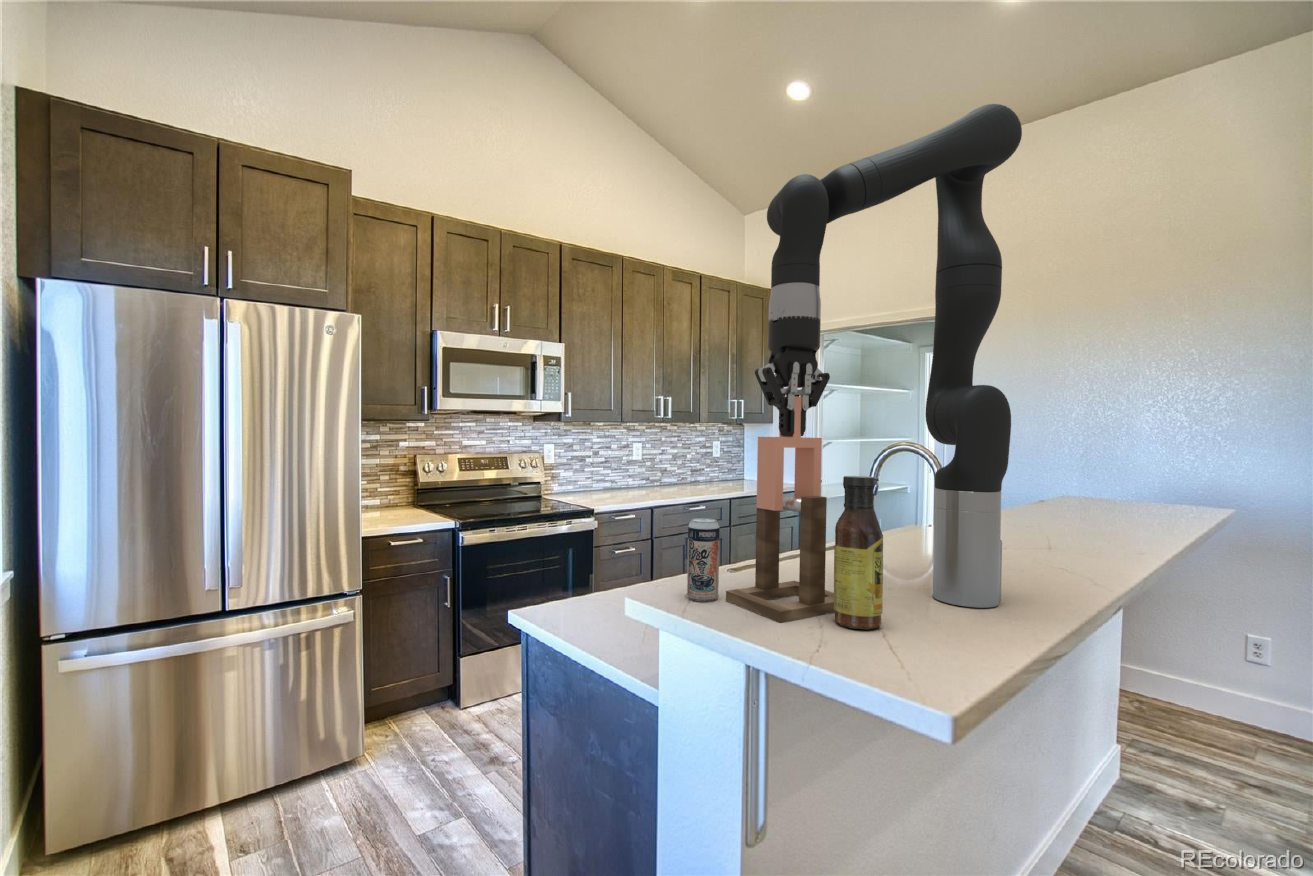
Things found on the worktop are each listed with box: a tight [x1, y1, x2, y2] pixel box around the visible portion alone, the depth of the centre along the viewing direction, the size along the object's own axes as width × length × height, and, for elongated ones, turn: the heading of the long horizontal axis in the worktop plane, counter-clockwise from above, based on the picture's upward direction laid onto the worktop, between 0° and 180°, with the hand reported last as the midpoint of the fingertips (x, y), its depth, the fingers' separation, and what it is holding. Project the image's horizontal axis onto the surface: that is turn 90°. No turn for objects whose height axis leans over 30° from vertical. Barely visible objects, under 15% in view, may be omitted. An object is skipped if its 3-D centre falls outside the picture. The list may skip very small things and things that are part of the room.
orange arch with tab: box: [756, 396, 823, 511], centre depth 89 cm, size 9×4×16 cm, turn 121°
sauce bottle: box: [833, 475, 884, 631], centre depth 81 cm, size 7×6×20 cm
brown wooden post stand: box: [725, 495, 835, 624], centre depth 89 cm, size 14×12×16 cm
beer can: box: [686, 517, 720, 602], centre depth 92 cm, size 5×5×12 cm
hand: (791, 435), depth 89 cm, fingers closed on orange arch with tab, 1 cm apart
